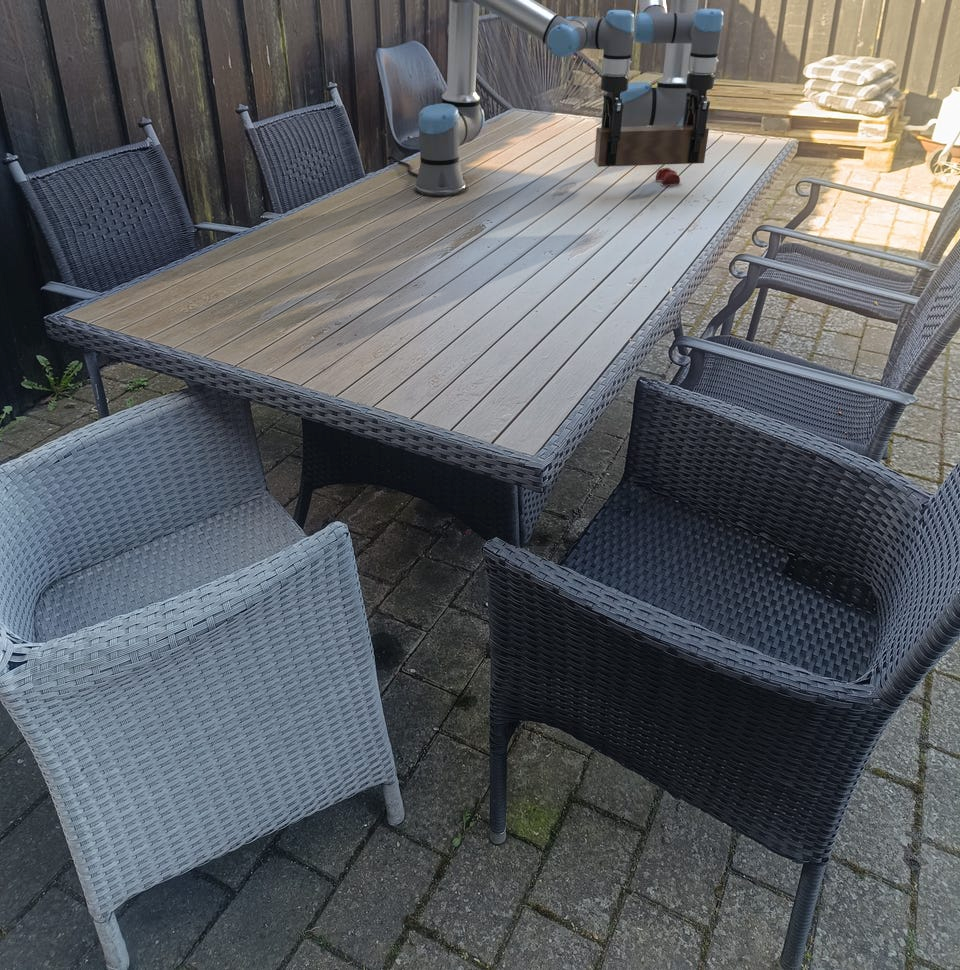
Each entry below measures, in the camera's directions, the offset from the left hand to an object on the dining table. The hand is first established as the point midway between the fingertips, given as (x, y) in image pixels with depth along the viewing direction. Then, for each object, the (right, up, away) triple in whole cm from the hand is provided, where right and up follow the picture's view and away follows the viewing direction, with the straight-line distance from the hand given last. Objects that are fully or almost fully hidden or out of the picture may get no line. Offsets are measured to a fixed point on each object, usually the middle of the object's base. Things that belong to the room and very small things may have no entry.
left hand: (608, 161), depth 245 cm
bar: (+12, 0, +1) cm, 12 cm away
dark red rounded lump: (+21, +1, +19) cm, 29 cm away
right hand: (+24, +2, +2) cm, 24 cm away
